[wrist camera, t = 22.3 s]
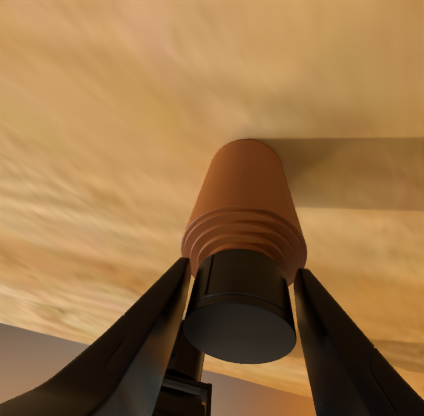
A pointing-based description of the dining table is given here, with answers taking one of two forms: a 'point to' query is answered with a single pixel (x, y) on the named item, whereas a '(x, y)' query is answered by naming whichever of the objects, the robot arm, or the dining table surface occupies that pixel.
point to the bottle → (245, 209)
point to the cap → (240, 308)
